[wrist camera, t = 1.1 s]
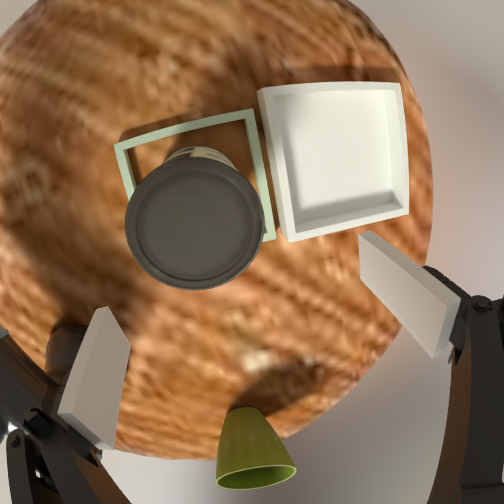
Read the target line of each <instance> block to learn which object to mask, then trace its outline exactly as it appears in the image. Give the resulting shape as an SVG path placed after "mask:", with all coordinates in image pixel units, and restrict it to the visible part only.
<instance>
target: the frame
mask: <svg viewBox="0 0 504 504" xmlns="http://www.w3.org/2000/svg"><path fill="white" fill-rule="evenodd" d="M240 119H244V122H245V127H246V132H247V137H248V142H249V147H250V152H251V157H252V163H253V168H254V173H255V178H256V184H257V189H258V194H259V198H260V200H261V203H262V206H263V211H264V216H265V230H264V236H263V241H262V242H265V241H269V240H273V239H276V233H275V227H274V221H273V215H272V209H271V203H270V197H269V191H268V186H267V180H266V174H265V169H264V163H263V158H262V152H261V147H260V142H259V136H258V131H257V126H256V121H255V116H254V111H253V108H252V109H246V110H241V111H235V112H230V113H225V114H220V115H215V116H211V117H206V118H202V119H198V120H194V121H190V122H186V123H182V124H178V125H174V126H171V127H167V128H163V129H160V130H157V131H153V132H150V133H147V134H144V135H140V136H137V137H134V138H131V139H128V140H125V141H122V142H120V143H117V144H114V149H115V153H116V157H117V160H118V164H119V168H120V172H121V175H122V179H123V182H124V186H125V189H126V192H127V196H128V199H129V200H130V198H131V196H132V194H133V192H134V190H135V189H136V187H137V185H136V182H135V178H134V175H133V171H132V167H131V163H130V160H129V156H128V152H127V149H129V148H132V147H135V146H138V145H141V144H144V143H147V142H151V141H154V140H157V139H161V138H164V137H168V136H171V135H175V134H179V133H182V132H186V131H190V130H194V129H198V128H203V127H207V126H211V125H216V124H220V123H225V122H230V121H235V120H240Z"/></svg>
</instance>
